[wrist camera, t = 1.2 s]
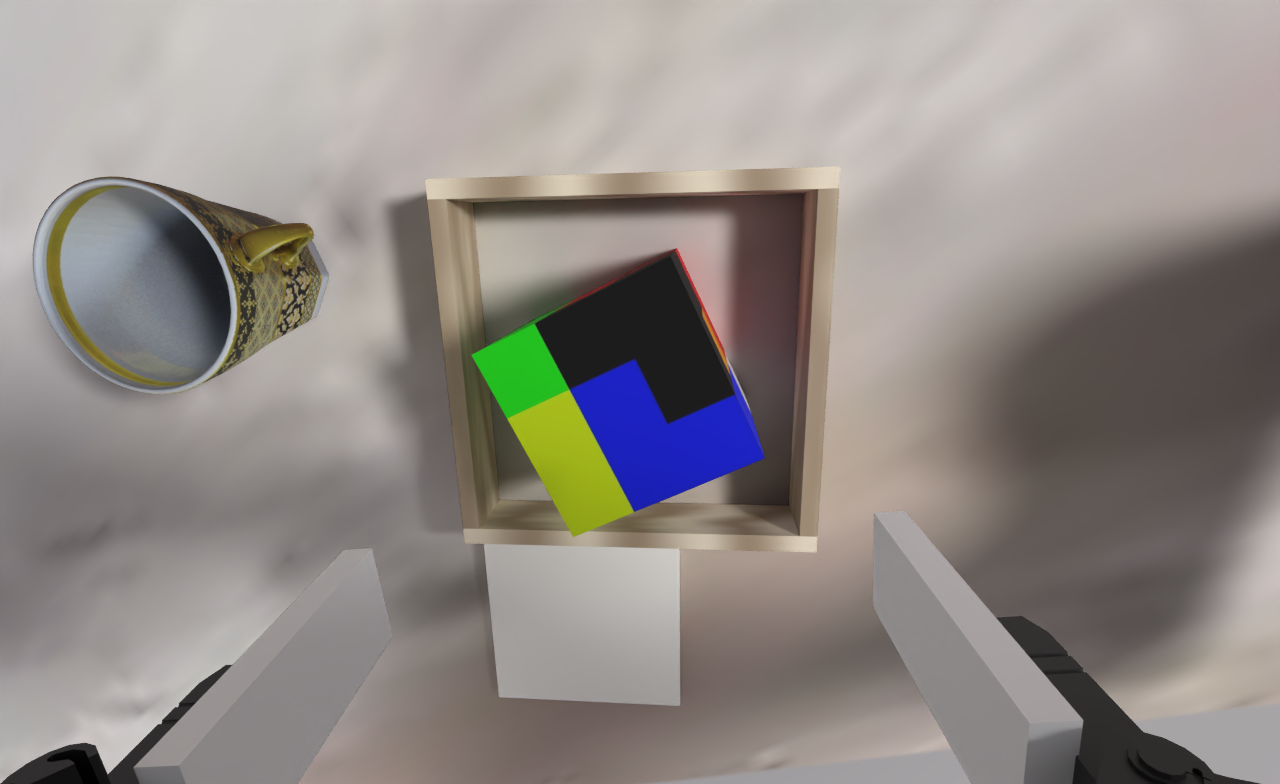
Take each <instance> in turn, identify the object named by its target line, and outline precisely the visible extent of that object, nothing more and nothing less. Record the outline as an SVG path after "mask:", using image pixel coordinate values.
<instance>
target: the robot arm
mask: <svg viewBox="0 0 1280 784" xmlns="http://www.w3.org/2000/svg"><path fill="white" fill-rule="evenodd" d="M873 608H874V610H875V612H876V613H877V615H878V617H879V619H880V621H881V622H882V624H883V626H884V628H885V630H886V631H887V633H888V635H889V637H890V639H891V640H892V642H893V644H894V646H895V648H896V649H897V651H898V653H899V655H900V657H901V658H902V660H903V662H904V664H905V666H906V667H907V669H908V671H909V673H910V674H911V676H912V678H913V680H914V682H915V683H916V685H917V687H918V689H919V691H920V692H921V694H922V696H923V698H924V700H925V701H926V703H927V705H928V707H929V709H930V710H931V712H932V714H933V716H934V718H935V719H936V721H937V723H938V725H939V727H940V728H941V730H942V732H943V734H944V736H945V737H946V739H947V741H948V743H949V745H950V746H951V748H952V750H953V752H954V754H955V755H956V757H957V759H958V761H959V763H960V764H961V766H962V768H963V770H964V772H965V773H966V775H967V777H968V779H969V781H970V782H971V784H1259V783H1254V782H1249V781H1244V780H1239V779H1234V778H1229V777H1225V776H1221V775H1218V774H1214V773H1213V772H1212V771H1211V769H1210V768H1209V767H1208V766H1207V765H1206V764H1205V762H1203V761H1202V760H1201V759H1199V758H1198V757H1196V756H1195V755H1194V754H1192V753H1191V752H1189V751H1188V750H1186V749H1185V748H1183V747H1181V746H1179V745H1177V744H1175V743H1173V742H1171V741H1169V740H1167V739H1165V738H1162V737H1159V736H1155V735H1151V734H1148V733H1144V732H1143V731H1141V729H1140V728H1139V727H1138V726H1137V725H1136V724H1135V723H1134V722H1133V721H1132V720H1131V719H1130V718H1129V717H1128V716H1127V715H1126V714H1125V713H1124V711H1123V710H1122V709H1121V708H1120V707H1119V706H1118V705H1117V704H1116V703H1115V702H1114V701H1113V700H1112V699H1111V698H1110V697H1109V696H1108V695H1107V694H1106V693H1105V691H1104V690H1103V689H1102V688H1101V687H1100V686H1099V685H1098V684H1097V683H1096V682H1095V681H1094V680H1093V679H1092V678H1091V677H1090V676H1089V675H1088V674H1087V673H1084V672H1083V668H1082V667H1081V666H1080V665H1079V664H1078V663H1077V662H1076V661H1075V660H1074V659H1073V658H1072V657H1071V656H1068V654H1067V651H1066V650H1065V649H1064V648H1063V647H1062V646H1061V645H1060V644H1059V643H1058V642H1057V641H1056V640H1055V639H1054V638H1053V637H1052V636H1051V635H1050V634H1049V633H1048V632H1047V631H1045V630H1044V629H1042V628H1040V627H1039V626H1037V625H1035V624H1034V623H1032V622H1030V621H1029V620H1027V619H1026V618H1024V617H1022V616H1018V617H1001V618H996V617H995V616H994V615H993V614H992V613H991V611H990V610H989V609H988V608H987V607H986V606H985V604H984V603H983V602H982V601H981V600H980V598H979V597H978V596H977V595H976V594H975V593H974V591H973V590H972V589H971V588H970V587H969V586H968V584H967V583H966V582H965V581H964V580H963V579H962V577H961V576H960V575H959V574H958V573H957V572H956V570H955V569H954V568H953V567H952V566H951V564H950V563H949V562H948V561H947V560H946V559H945V557H944V556H943V555H942V554H941V553H940V552H939V550H938V549H937V548H936V547H935V546H934V545H933V543H932V542H931V541H930V540H929V539H928V538H927V536H926V535H925V534H924V533H923V532H922V530H921V529H920V528H919V527H918V526H917V525H916V523H915V522H914V521H913V520H912V519H911V518H910V516H909V515H908V514H907V513H906V512H905V511H894V512H880V513H874V548H873ZM392 637H393V634H392V630H391V626H390V622H389V618H388V613H387V609H386V605H385V601H384V597H383V593H382V589H381V584H380V580H379V576H378V572H377V568H376V564H375V559H374V555H373V551H372V548H363V549H349V550H343V551H342V552H341V553H340V554H339V555H338V556H337V557H336V558H335V560H334V561H333V562H332V563H331V564H330V565H329V566H328V567H327V568H326V569H325V570H324V571H323V572H322V573H321V574H320V575H319V576H318V577H317V578H316V579H315V580H314V581H313V582H312V583H311V584H310V585H309V586H308V587H307V588H306V590H305V591H304V592H303V593H302V594H301V595H300V596H299V597H298V598H297V599H296V600H295V601H294V602H293V603H292V604H291V605H290V606H289V607H288V608H287V609H286V610H285V611H284V612H283V613H282V614H281V615H280V616H279V617H278V619H277V620H276V621H275V622H274V623H273V624H272V625H271V626H270V627H269V628H268V629H267V630H266V631H265V632H264V633H263V634H262V635H261V636H260V637H259V638H258V639H257V640H256V641H255V642H254V643H253V644H252V645H251V646H250V647H249V649H248V650H247V651H246V652H245V653H244V654H243V655H242V656H241V657H240V658H239V659H238V660H237V661H236V662H235V663H234V664H233V665H225V666H224V667H222V668H221V669H220V670H218V671H217V672H215V673H214V674H212V675H211V676H209V677H208V678H206V679H205V680H203V681H202V682H200V683H199V684H198V685H197V686H196V687H195V688H194V689H193V690H192V691H191V692H190V693H189V694H188V695H187V696H186V697H185V698H184V699H183V700H182V701H181V702H180V703H179V707H175V708H174V709H173V710H172V711H171V712H170V713H169V714H168V715H167V716H166V717H165V718H164V719H163V720H162V724H158V725H157V726H156V727H155V728H154V729H153V730H152V731H151V732H150V733H149V734H148V735H147V736H146V737H145V738H144V739H143V740H142V741H141V742H140V743H139V744H138V745H137V746H136V747H135V748H134V749H133V750H132V751H131V752H130V753H129V754H128V755H127V756H126V757H125V758H124V759H123V760H122V761H121V762H120V763H119V764H118V765H117V766H116V767H115V768H114V769H113V770H112V771H111V772H110V773H109V774H108V775H107V772H106V770H105V767H104V765H103V763H102V760H101V758H100V756H99V753H98V751H97V748H96V746H95V745H91V744H88V743H81V744H73V745H68V746H65V747H62V748H59V749H57V750H54V751H51V752H49V753H47V754H45V755H43V756H41V757H39V758H37V759H35V760H33V761H31V762H29V763H27V764H26V765H24V766H23V767H22V768H20V769H19V770H17V771H16V772H14V773H13V774H11V775H10V776H8V777H7V778H6V779H5V780H4V781H3V782H2V783H1V784H298V782H299V781H300V779H301V778H302V776H303V775H304V773H305V771H306V770H307V768H308V767H309V765H310V764H311V762H312V761H313V759H314V758H315V756H316V754H317V753H318V751H319V750H320V748H321V747H322V745H323V744H324V742H325V741H326V739H327V737H328V736H329V734H330V733H331V731H332V730H333V728H334V727H335V725H336V723H337V722H338V720H339V719H340V717H341V716H342V714H343V713H344V711H345V710H346V708H347V706H348V705H349V703H350V702H351V700H352V699H353V697H354V696H355V694H356V693H357V691H358V689H359V688H360V686H361V685H362V683H363V682H364V680H365V679H366V677H367V675H368V674H369V672H370V671H371V669H372V668H373V666H374V665H375V663H376V662H377V660H378V658H379V657H380V655H381V654H382V652H383V651H384V649H385V648H386V646H387V645H388V643H389V641H390V640H391V638H392Z"/></svg>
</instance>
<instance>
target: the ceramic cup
mask: <svg viewBox="0 0 1280 784" xmlns="http://www.w3.org/2000/svg"><path fill="white" fill-rule="evenodd" d="M313 237H314V233H313V230H312V229H311V227H310V226H309V225H307V224H304V223H291V224H282V223H280V222H277V221H275V220H273V219H271V218H268V217H265V216H262V215H259V214H256V213H251V212H247V211H243V210H240V209H236V208H233V207H229V206H226V205H222V204H218V203H215V202H211V201H207V200H204V199H202V198H200V197H197V196H195V195H192V194H190V193H187V192H183V191H180V190H176V189H173V188H169V187H166V186H162V185H159V184H155V183H150V182H145V181H140V180H136V179H131V178H124V177H100V178H95V179H90V180H86V181H83V182H81V183H78V184H76V185H74V186H72V187H70V188H69V189H67V190H66V191H65V192H63V193H62V194H61V195H59V196H58V197H57V198H56V199H55V200H54V201H53V202H52V203H51V205H50V206H49V207H48V209H47V210H46V212H45V214H44V216H43V217H42V219H41V221H40V223H39V226H38V229H37V232H36V236H35V241H34V248H33V272H34V279H35V284H36V289H37V292H38V295H39V298H40V301H41V304H42V307H43V309H44V311H45V314H46V316H47V318H48V320H49V321H50V323H51V325H52V327H53V328H54V330H55V331H56V333H57V334H58V336H59V337H60V338H61V340H62V341H63V342H64V344H65V345H66V346H67V347H68V349H69V350H70V351H71V352H72V353H73V354H74V355H75V356H76V357H77V358H78V359H79V360H80V361H81V362H83V363H84V364H85V365H86V366H87V367H89V368H90V369H91V370H93V371H94V372H95V373H97V374H99V375H100V376H102V377H103V378H105V379H107V380H109V381H111V382H113V383H115V384H117V385H119V386H122V387H124V388H127V389H130V390H134V391H137V392H142V393H149V394H172V393H178V392H183V391H186V390H189V389H192V388H194V387H196V386H198V385H200V384H202V383H204V382H206V381H208V380H210V379H212V378H214V377H216V376H218V375H220V374H222V373H224V372H225V371H227V370H229V369H231V368H232V367H234V366H236V365H237V364H239V363H241V362H242V361H244V360H246V359H247V358H249V357H250V356H252V355H253V354H255V353H256V352H257V351H259V350H260V349H261V348H263V347H264V346H265V345H267V344H268V343H270V342H272V341H274V340H275V339H277V338H279V337H281V336H283V335H284V334H286V333H288V332H290V331H292V330H293V329H295V328H297V327H298V326H300V325H302V324H304V323H306V322H308V321H309V320H311V319H313V318H315V317H316V316H317V314H318V311H319V308H320V305H321V302H322V298H323V295H324V292H325V288H326V285H327V281H328V278H329V274H328V272H327V270H326V268H325V266H324V263H323V261H322V259H321V257H320V255H319V253H318V251H317V249H316V247H315V245H314V243H313V241H312V239H313Z"/></svg>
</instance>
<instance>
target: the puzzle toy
mask: <svg viewBox="0 0 1280 784" xmlns="http://www.w3.org/2000/svg"><path fill="white" fill-rule="evenodd" d="M472 357H473V359H474V360H475V362H476V364H477V366H478V368H479V369H480V371H481V373H482V375H483V377H484V378H485V380H486V382H487V384H488V386H489V387H490V389H491V391H492V393H493V394H494V396H495V398H496V400H497V402H498V403H499V405H500V407H501V409H502V411H503V412H504V414H505V416H506V418H507V419H508V421H509V423H510V425H511V427H512V428H513V430H514V432H515V434H516V436H517V437H518V439H519V441H520V443H521V445H522V446H523V448H524V450H525V452H526V453H527V455H528V457H529V459H530V461H531V462H532V464H533V466H534V468H535V470H536V471H537V473H538V475H539V477H540V478H541V480H542V482H543V484H544V486H545V487H546V489H547V491H548V493H549V495H550V496H551V498H552V500H553V502H554V504H555V505H556V507H557V509H558V511H559V512H560V514H561V516H562V518H563V520H564V521H565V523H566V525H567V527H568V529H569V530H570V532H571V534H572V536H573V537H575V536H578V535H580V534H583V533H585V532H587V531H590V530H592V529H595V528H597V527H600V526H602V525H604V524H607V523H609V522H612V521H614V520H617V519H619V518H621V517H624V516H626V515H629V514H631V513H634V512H636V511H638V510H641V509H643V508H646V507H648V506H650V505H653V504H655V503H658V502H660V501H663V500H665V499H667V498H670V497H672V496H675V495H677V494H680V493H682V492H684V491H687V490H689V489H692V488H694V487H697V486H699V485H701V484H704V483H706V482H709V481H711V480H714V479H716V478H718V477H721V476H723V475H726V474H728V473H731V472H733V471H735V470H738V469H740V468H743V467H745V466H748V465H750V464H752V463H755V462H757V461H760V460H762V459H765V456H764V453H763V450H762V447H761V443H760V440H759V437H758V434H757V430H756V427H755V424H754V421H753V417H752V414H751V411H750V408H749V405H748V401H747V398H746V396H745V394H744V392H743V390H742V387H741V385H740V383H739V381H738V379H737V377H736V375H735V372H734V370H733V368H732V366H731V364H730V362H729V359H728V357H727V355H726V353H725V351H724V349H723V347H722V344H721V342H720V340H719V338H718V336H717V334H716V331H715V329H714V327H713V325H712V323H711V321H710V318H709V316H708V314H707V312H706V310H705V308H704V306H703V303H702V301H701V299H700V297H699V295H698V293H697V290H696V288H695V286H694V284H693V282H692V280H691V278H690V275H689V273H688V271H687V269H686V267H685V265H684V262H683V260H682V258H681V256H680V254H679V252H678V249H675V250H673V251H671V252H669V253H667V254H665V255H663V256H661V257H659V258H657V259H655V260H653V261H651V262H649V263H647V264H645V265H643V266H641V267H639V268H637V269H635V270H633V271H631V272H629V273H627V274H625V275H623V276H621V277H619V278H617V279H615V280H613V281H611V282H609V283H607V284H605V285H603V286H601V287H599V288H597V289H595V290H593V291H591V292H589V293H587V294H585V295H583V296H581V297H579V298H577V299H575V300H573V301H571V302H569V303H567V304H565V305H563V306H561V307H559V308H557V309H555V310H553V311H551V312H549V313H547V314H545V315H543V316H541V317H539V318H537V319H535V320H533V321H531V322H529V323H527V324H525V325H523V326H522V327H520V328H518V329H516V330H515V331H513V332H511V333H509V334H508V335H506V336H504V337H502V338H500V339H499V340H497V341H495V342H493V343H492V344H490V345H488V346H486V347H485V348H483V349H481V350H479V351H478V352H476V353H474V354H472Z"/></svg>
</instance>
